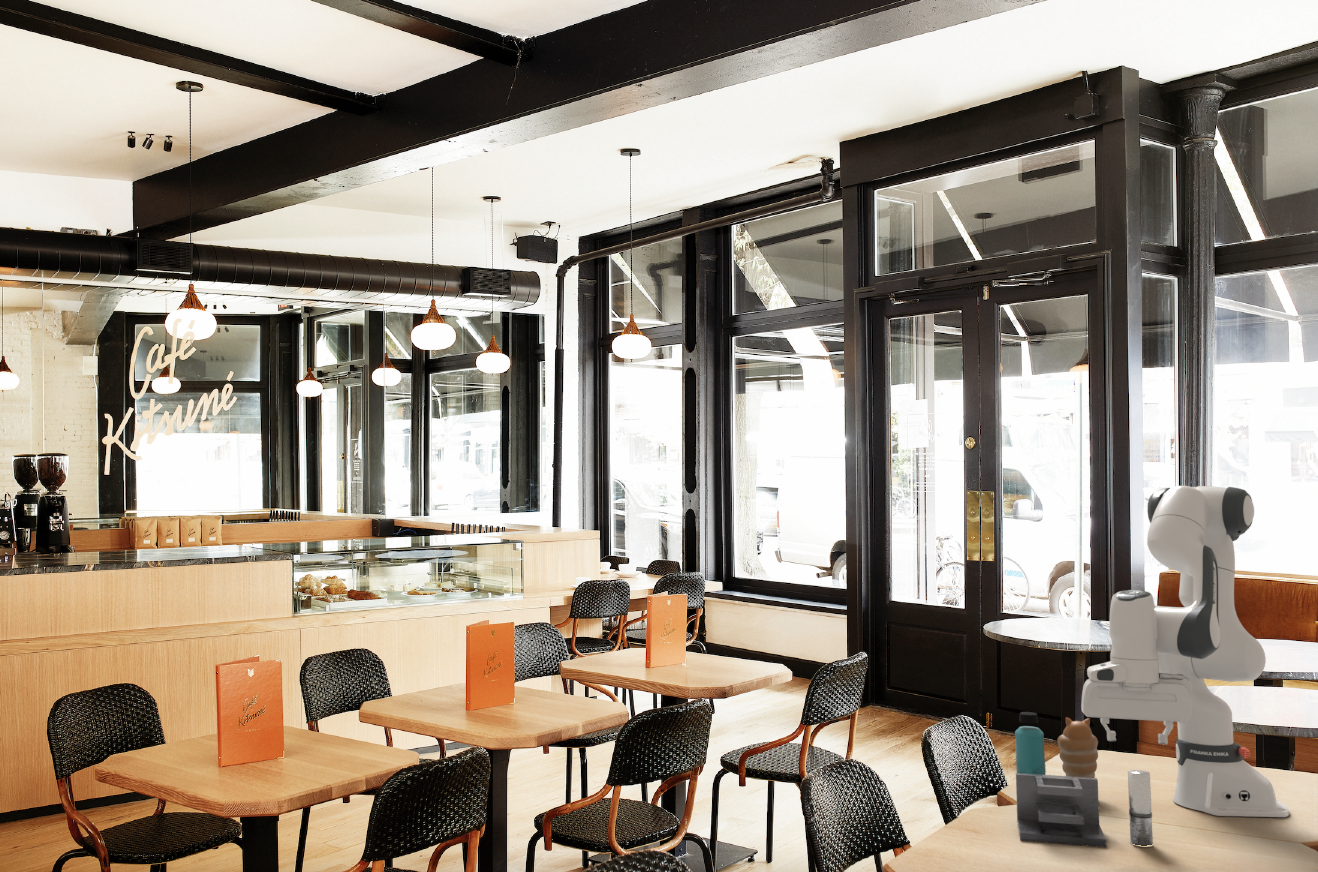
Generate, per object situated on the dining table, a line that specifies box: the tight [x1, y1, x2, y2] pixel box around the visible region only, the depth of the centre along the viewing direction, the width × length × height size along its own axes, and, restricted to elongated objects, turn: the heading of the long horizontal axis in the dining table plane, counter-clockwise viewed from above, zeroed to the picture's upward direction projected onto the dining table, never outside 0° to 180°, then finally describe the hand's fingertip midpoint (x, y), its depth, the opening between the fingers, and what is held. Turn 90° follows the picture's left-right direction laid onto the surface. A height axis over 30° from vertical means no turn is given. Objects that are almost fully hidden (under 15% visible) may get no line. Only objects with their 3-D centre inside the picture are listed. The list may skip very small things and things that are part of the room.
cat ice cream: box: [1057, 716, 1099, 778], centre depth 237 cm, size 9×8×18 cm
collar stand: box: [1015, 772, 1107, 848], centre depth 209 cm, size 16×12×10 cm
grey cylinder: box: [1127, 769, 1154, 846], centre depth 203 cm, size 4×4×14 cm
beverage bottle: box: [1014, 711, 1047, 775], centre depth 233 cm, size 6×7×20 cm
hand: (1137, 742), depth 203 cm, fingers open, 8 cm apart
